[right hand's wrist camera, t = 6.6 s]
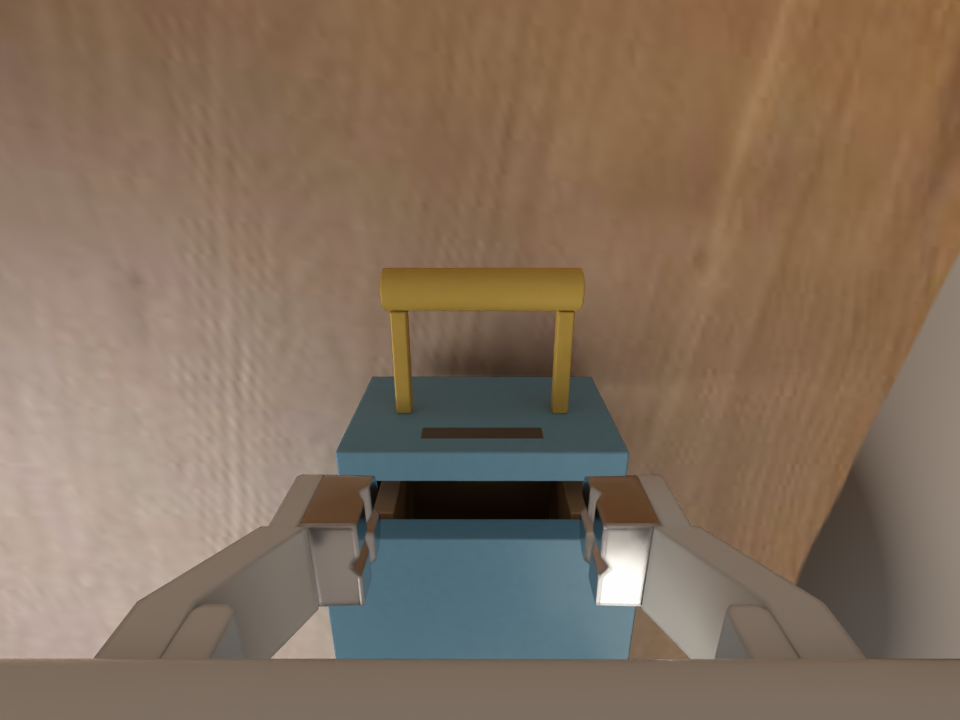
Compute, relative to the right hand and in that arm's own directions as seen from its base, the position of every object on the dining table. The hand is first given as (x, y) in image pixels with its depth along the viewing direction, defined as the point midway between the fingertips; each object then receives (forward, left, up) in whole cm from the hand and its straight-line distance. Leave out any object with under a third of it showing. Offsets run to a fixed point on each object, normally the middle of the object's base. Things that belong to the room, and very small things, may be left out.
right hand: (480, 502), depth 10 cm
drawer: (+9, -3, -13) cm, 16 cm away
